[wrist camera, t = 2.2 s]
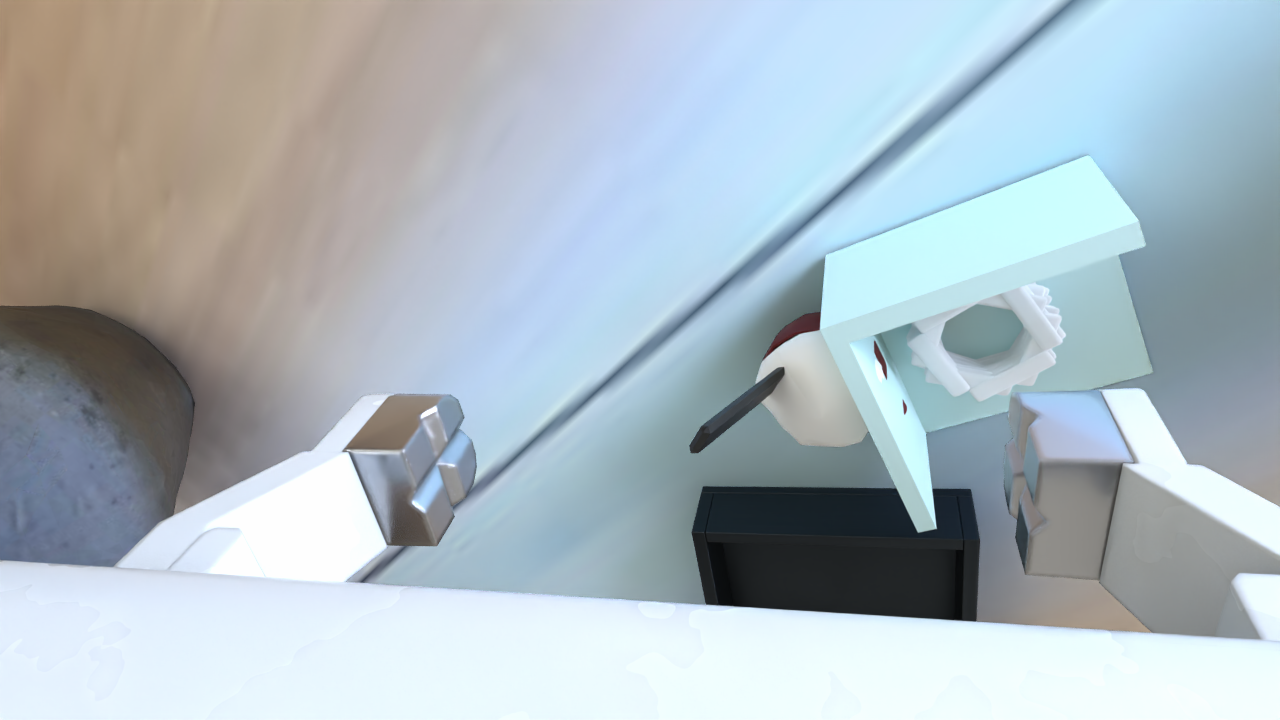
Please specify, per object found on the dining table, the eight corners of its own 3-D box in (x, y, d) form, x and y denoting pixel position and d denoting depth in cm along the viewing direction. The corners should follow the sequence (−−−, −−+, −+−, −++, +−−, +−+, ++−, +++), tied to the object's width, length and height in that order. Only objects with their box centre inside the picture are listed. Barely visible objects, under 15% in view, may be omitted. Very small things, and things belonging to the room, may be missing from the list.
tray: (971, 488, 45) (979, 540, 42) (964, 688, 54) (971, 743, 51) (702, 486, 50) (691, 532, 46) (736, 670, 58) (728, 720, 55)
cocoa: (924, 369, 42) (944, 528, 32) (829, 426, 45) (820, 586, 35) (807, 242, 40) (789, 371, 30) (715, 311, 43) (672, 448, 33)
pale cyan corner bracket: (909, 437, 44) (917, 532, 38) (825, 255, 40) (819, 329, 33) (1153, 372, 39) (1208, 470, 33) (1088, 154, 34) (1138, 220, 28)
